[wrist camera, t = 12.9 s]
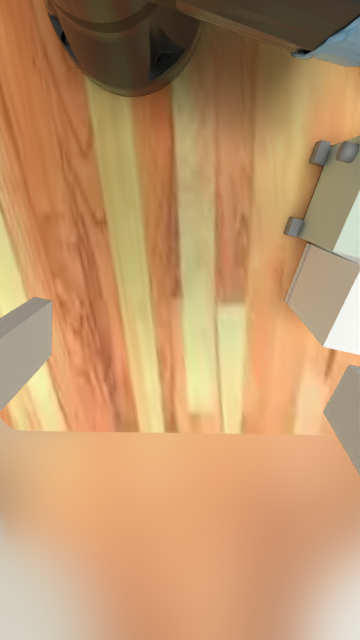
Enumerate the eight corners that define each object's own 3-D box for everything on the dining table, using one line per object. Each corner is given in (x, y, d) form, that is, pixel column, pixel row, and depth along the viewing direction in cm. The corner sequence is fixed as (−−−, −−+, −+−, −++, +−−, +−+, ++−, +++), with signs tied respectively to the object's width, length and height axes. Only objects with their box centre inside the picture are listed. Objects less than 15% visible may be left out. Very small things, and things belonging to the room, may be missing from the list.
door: (321, 143, 31) (373, 121, 22) (366, 154, 31) (436, 137, 22) (288, 234, 35) (320, 248, 26) (327, 244, 35) (373, 260, 26)
